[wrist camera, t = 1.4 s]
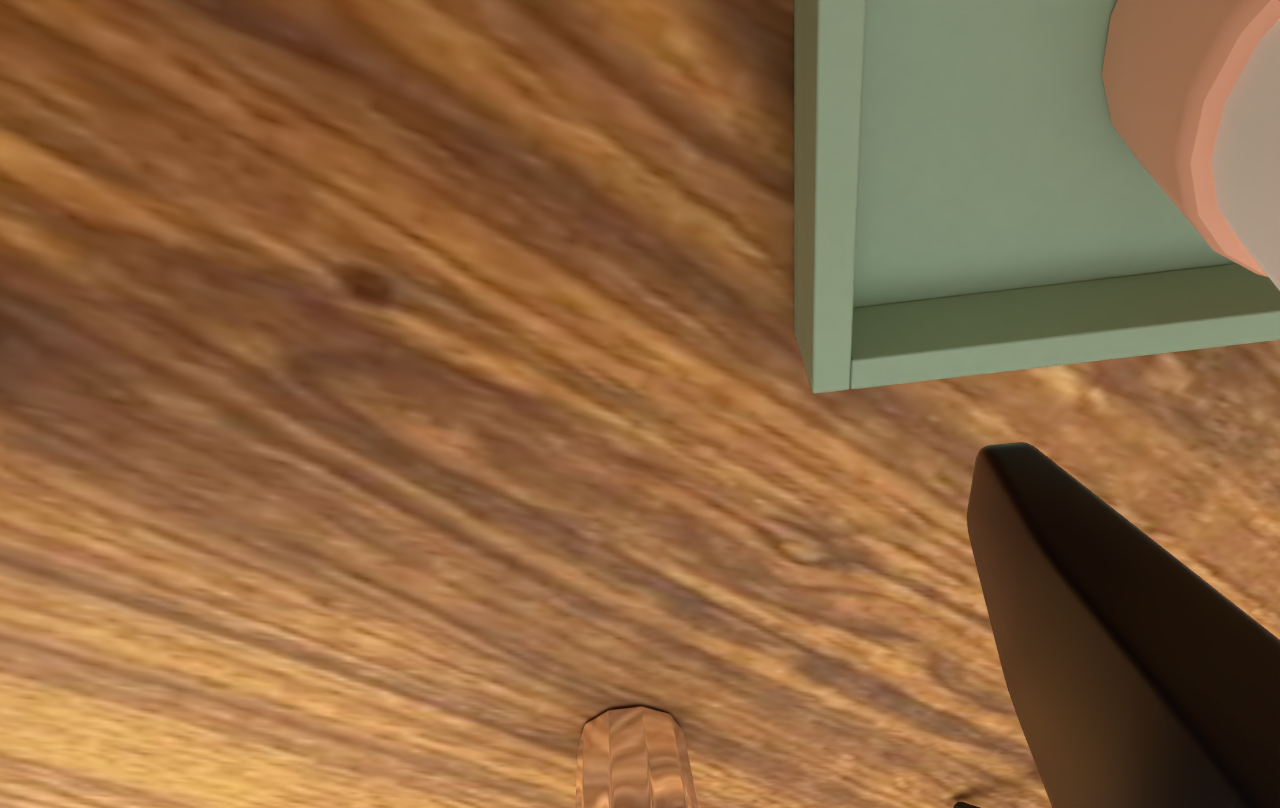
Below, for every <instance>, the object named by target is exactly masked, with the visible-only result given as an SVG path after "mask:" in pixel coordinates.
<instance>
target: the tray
mask: <svg viewBox="0 0 1280 808" xmlns="http://www.w3.org/2000/svg"><path fill="white" fill-rule="evenodd" d="M1117 1H1118V0H794V332H795V336H796V339H797V342H798V346H799V349H800V352H801V356H802V359H803V363H804V366H805V369H806V373H807V376H808V380H809V383H810V386H811V390H812V392H813V393H824V392H832V391H841V390H848V389H849V387H850V388H851V389H859V388H868V387H876V386H885V385H894V384H902V383H911V382H919V381H928V380H937V379H945V378H954V377H962V376H971V375H980V374H988V373H997V372H1006V371H1014V370H1023V369H1031V368H1040V367H1049V366H1057V365H1066V364H1074V363H1083V362H1092V361H1100V360H1109V359H1117V358H1126V357H1135V356H1143V355H1152V354H1161V353H1169V352H1178V351H1186V350H1195V349H1204V348H1212V347H1221V346H1229V345H1238V344H1247V343H1255V342H1264V341H1273V340H1280V291H1279V289H1278V288H1277V287H1276V286H1275V284H1274V283H1273V282H1272V281H1271V279H1270V278H1269V277H1266V276H1262V275H1258V274H1256V273H1254V272H1252V271H1250V270H1248V269H1246V268H1244V267H1243V266H1241V265H1239V264H1237V263H1235V262H1233V261H1232V260H1230V259H1228V258H1226V257H1224V256H1222V255H1221V254H1219V253H1217V252H1215V251H1213V249H1212V248H1211V247H1210V246H1209V245H1208V243H1207V242H1206V241H1205V240H1204V239H1203V237H1202V236H1201V235H1200V234H1199V233H1198V232H1197V230H1196V229H1195V228H1194V227H1193V226H1192V224H1191V223H1190V222H1189V221H1188V220H1187V218H1186V217H1185V216H1184V215H1183V214H1182V212H1181V211H1180V210H1179V209H1178V208H1177V206H1176V205H1175V204H1174V203H1173V202H1172V201H1171V199H1170V198H1169V197H1168V196H1167V195H1166V193H1165V192H1164V191H1163V190H1162V189H1161V187H1160V186H1159V185H1158V184H1157V183H1156V181H1155V180H1154V179H1153V178H1152V177H1151V175H1150V174H1149V173H1148V172H1147V171H1146V170H1145V168H1144V167H1143V166H1142V165H1141V164H1140V162H1139V161H1138V160H1137V158H1136V157H1135V156H1134V154H1133V153H1132V151H1131V150H1130V149H1129V147H1128V146H1127V144H1126V143H1125V142H1124V140H1123V139H1122V138H1121V136H1120V135H1119V133H1118V132H1117V131H1116V129H1115V128H1114V126H1113V125H1112V122H1111V118H1110V113H1109V108H1108V103H1107V98H1106V93H1105V88H1104V83H1103V78H1102V69H1103V63H1104V56H1105V50H1106V43H1107V37H1108V30H1109V24H1110V17H1111V14H1112V11H1113V9H1114V7H1115V5H1116V3H1117Z"/></svg>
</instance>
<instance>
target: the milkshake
mask: <svg viewBox="0 0 1280 808" xmlns="http://www.w3.org/2000/svg"><path fill="white" fill-rule="evenodd" d="M575 808H699V807H698V802H697V797H696V792H695V787H694V782H693V777H692V772H691V767H690V762H689V757H688V752H687V747H686V742H685V737H684V733H683V731H682V729H681V728H680V727H679V725H678V724H677V723H676V721H675V720H674V719H673V717H672V716H671V715H670V714H668V713H664V712H660V711H657V710H653V709H650V708H646V707H643V706H639V707H631V708H623V709H615V710H608V711H607V712H605V713H603V714H602V715H600V716H598V717H597V718H595V719H593V720H591V721H590V722H588V723H586V724H585V725H584V728H583V731H582V735H581V738H580V741H579V744H578V757H577V780H576V803H575Z"/></svg>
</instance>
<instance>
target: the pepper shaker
mask: <svg viewBox="0 0 1280 808" xmlns="http://www.w3.org/2000/svg"><path fill="white" fill-rule="evenodd" d="M1102 78H1103V83H1104V88H1105V93H1106V98H1107V103H1108V108H1109V113H1110V118H1111V122H1112V125H1113V126H1114V128H1115V129H1116V131H1117V132H1118V133H1119V135H1120V136H1121V138H1122V139H1123V140H1124V142H1125V143H1126V144H1127V146H1128V147H1129V149H1130V150H1131V151H1132V153H1133V154H1134V156H1135V157H1136V158H1137V160H1138V161H1139V162H1140V164H1141V165H1142V166H1143V167H1144V168H1145V170H1146V171H1147V172H1148V173H1149V174H1150V175H1151V177H1152V178H1153V179H1154V180H1155V181H1156V183H1157V184H1158V185H1159V186H1160V187H1161V189H1162V190H1163V191H1164V192H1165V193H1166V195H1167V196H1168V197H1169V198H1170V199H1171V201H1172V202H1173V203H1174V204H1175V205H1176V206H1177V208H1178V209H1179V210H1180V211H1181V212H1182V214H1183V215H1184V216H1185V217H1186V218H1187V220H1188V221H1189V222H1190V223H1191V224H1192V226H1193V227H1194V228H1195V229H1196V230H1197V232H1198V233H1199V234H1200V235H1201V236H1202V237H1203V239H1204V240H1205V241H1206V242H1207V243H1208V245H1209V246H1210V247H1211V248H1212V249H1213V251H1215V252H1217V253H1219V254H1221V255H1222V256H1224V257H1226V258H1228V259H1230V260H1232V261H1233V262H1235V263H1237V264H1239V265H1241V266H1243V267H1244V268H1246V269H1248V270H1250V271H1252V272H1254V273H1256V274H1258V275H1262V276H1266V277H1269V278H1270V279H1271V281H1272V282H1273V283H1274V284H1275V286H1276V287H1277V288H1278V289H1279V291H1280V0H1118V1H1117V3H1116V5H1115V7H1114V9H1113V11H1112V14H1111V17H1110V24H1109V30H1108V37H1107V43H1106V50H1105V56H1104V63H1103V69H1102Z"/></svg>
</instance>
